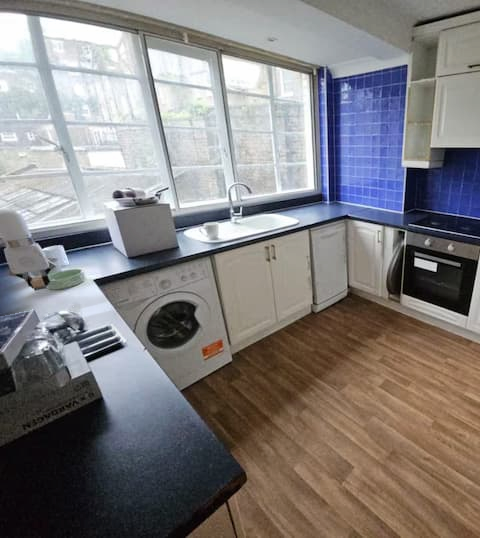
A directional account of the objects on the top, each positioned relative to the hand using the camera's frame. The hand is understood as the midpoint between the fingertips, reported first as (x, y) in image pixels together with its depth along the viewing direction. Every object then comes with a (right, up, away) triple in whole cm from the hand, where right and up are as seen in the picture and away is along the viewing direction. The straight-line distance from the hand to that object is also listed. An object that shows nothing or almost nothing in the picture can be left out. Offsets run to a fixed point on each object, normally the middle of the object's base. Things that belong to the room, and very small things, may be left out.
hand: (40, 285), depth 119 cm
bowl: (-4, 0, +15) cm, 16 cm away
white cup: (-30, +8, +37) cm, 48 cm away
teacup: (-21, +3, +23) cm, 32 cm away
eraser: (0, -1, 0) cm, 1 cm away
